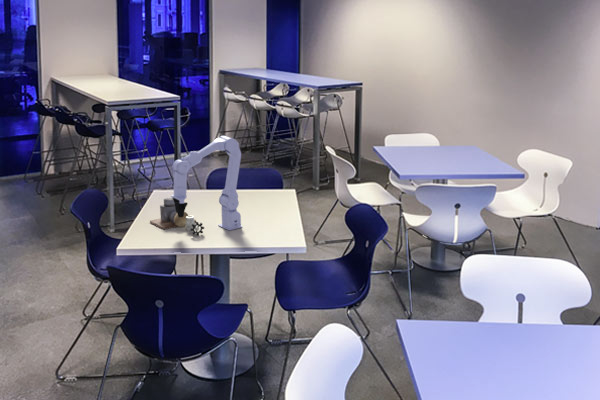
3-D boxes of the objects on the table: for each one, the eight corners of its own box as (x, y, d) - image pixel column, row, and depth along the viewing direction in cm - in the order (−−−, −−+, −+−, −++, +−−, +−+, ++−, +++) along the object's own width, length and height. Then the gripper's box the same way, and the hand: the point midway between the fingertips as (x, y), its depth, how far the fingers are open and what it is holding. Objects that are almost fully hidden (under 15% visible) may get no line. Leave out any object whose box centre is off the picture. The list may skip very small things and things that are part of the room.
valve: (182, 229, 301) (191, 236, 291) (181, 216, 299) (190, 223, 289) (195, 227, 304) (204, 234, 294) (194, 214, 303) (204, 221, 293)
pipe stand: (198, 223, 310) (197, 200, 307) (165, 230, 299) (164, 207, 296) (181, 215, 322) (180, 194, 319) (149, 222, 311) (148, 200, 308)
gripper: (169, 182, 292) (169, 210, 296) (173, 189, 279) (172, 219, 282) (184, 182, 294) (184, 210, 298) (189, 189, 281) (188, 218, 284)
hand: (179, 214), depth 290 cm, fingers open, 7 cm apart
